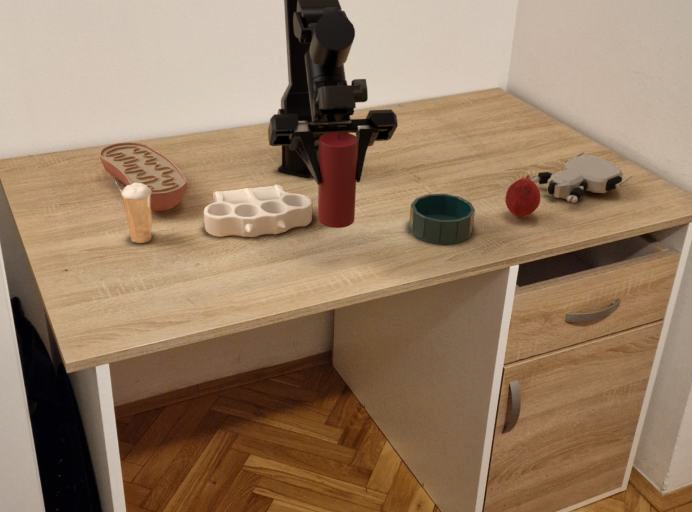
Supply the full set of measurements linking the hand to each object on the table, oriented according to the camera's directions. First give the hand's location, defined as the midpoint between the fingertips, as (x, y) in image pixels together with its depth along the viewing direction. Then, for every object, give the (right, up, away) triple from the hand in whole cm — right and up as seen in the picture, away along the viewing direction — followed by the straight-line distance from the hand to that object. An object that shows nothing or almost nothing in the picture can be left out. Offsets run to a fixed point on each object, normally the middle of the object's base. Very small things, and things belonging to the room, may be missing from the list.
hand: (338, 182), depth 137 cm
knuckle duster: (-14, -3, +19) cm, 23 cm away
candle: (0, -5, +5) cm, 7 cm away
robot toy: (+43, +4, +31) cm, 53 cm away
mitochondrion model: (-34, +3, +26) cm, 43 cm away
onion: (+31, -2, +22) cm, 38 cm away
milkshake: (-32, -7, +12) cm, 35 cm away
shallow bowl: (+17, -5, +17) cm, 25 cm away
